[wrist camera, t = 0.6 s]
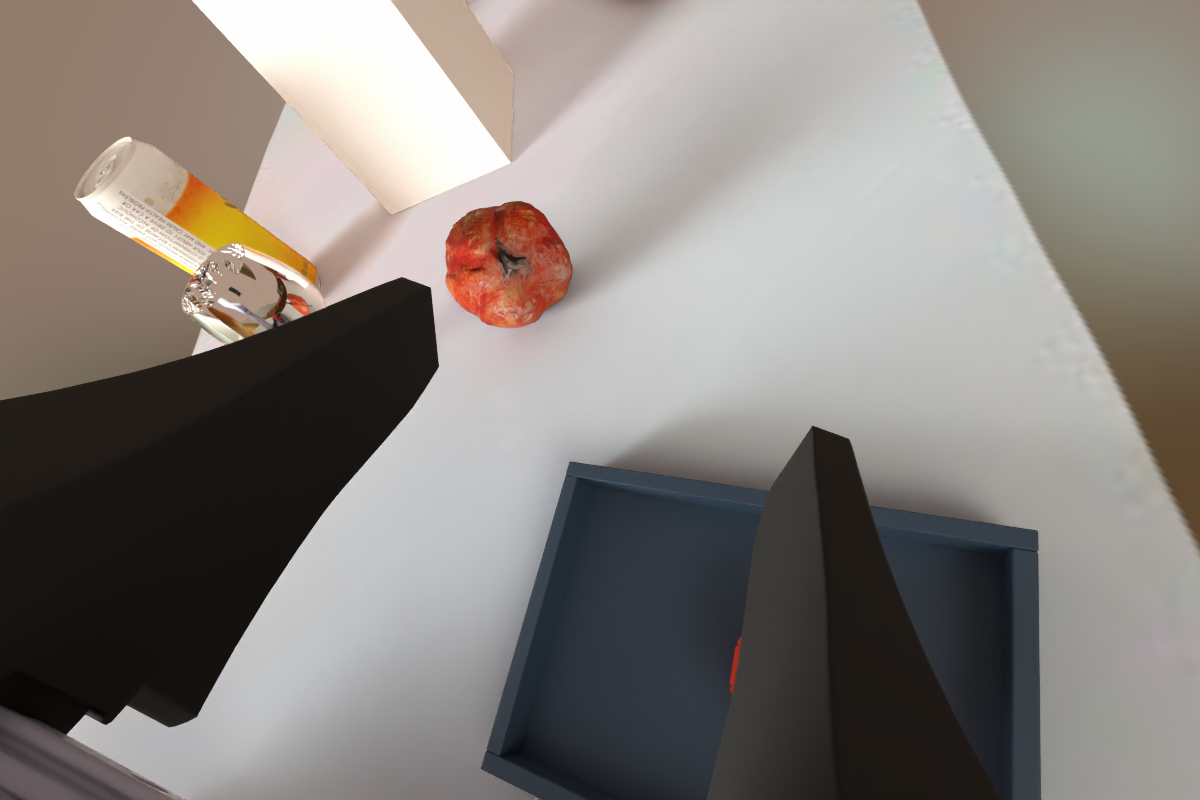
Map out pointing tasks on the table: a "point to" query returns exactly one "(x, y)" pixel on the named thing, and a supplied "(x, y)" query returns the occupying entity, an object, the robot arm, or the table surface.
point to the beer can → (172, 209)
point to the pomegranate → (506, 264)
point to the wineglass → (246, 294)
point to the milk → (384, 86)
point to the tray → (733, 637)
